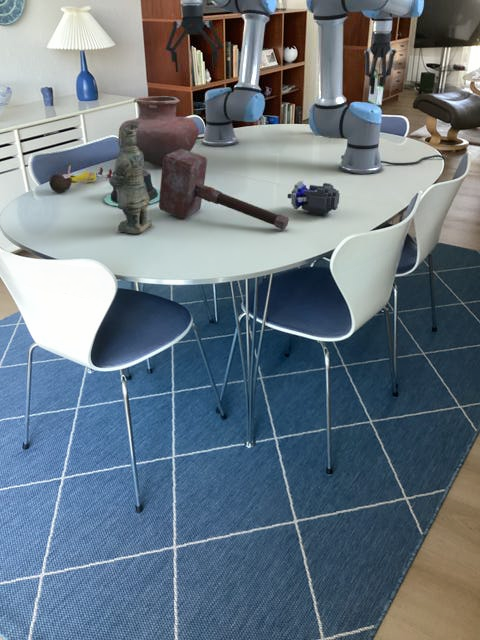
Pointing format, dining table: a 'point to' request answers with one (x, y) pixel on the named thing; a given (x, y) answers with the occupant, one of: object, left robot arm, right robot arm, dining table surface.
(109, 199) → the chocolate cake
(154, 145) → the clay pot
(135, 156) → the statue
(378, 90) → the ink box
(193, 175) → the sledgehammer
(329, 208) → the toy
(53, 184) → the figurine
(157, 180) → the dining table surface
